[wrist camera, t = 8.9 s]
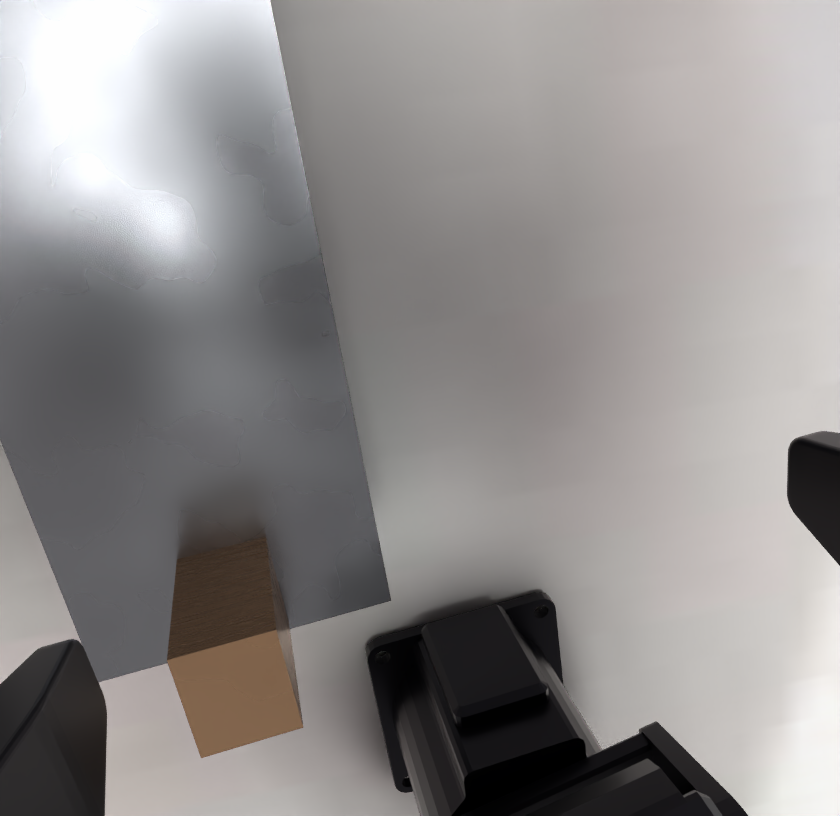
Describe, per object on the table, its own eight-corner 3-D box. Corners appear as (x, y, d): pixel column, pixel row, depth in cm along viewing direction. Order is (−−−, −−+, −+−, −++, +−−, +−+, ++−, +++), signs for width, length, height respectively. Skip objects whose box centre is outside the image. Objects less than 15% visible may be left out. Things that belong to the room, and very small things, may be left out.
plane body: (357, 507, 23) (425, 698, 16) (122, 567, 22) (70, 806, 14) (153, -465, 15) (81, -1094, 7) (-242, -451, 14) (-831, -1179, 6)
